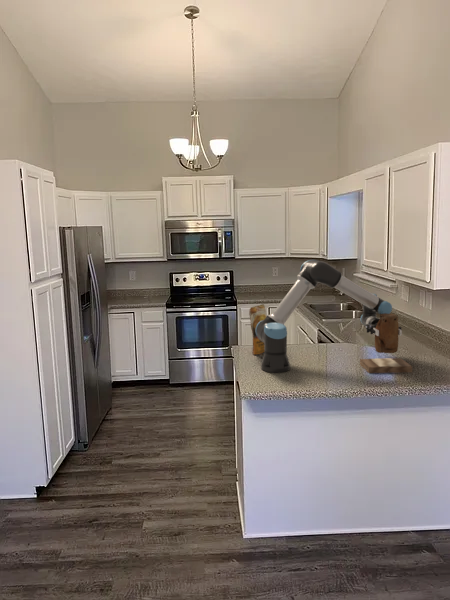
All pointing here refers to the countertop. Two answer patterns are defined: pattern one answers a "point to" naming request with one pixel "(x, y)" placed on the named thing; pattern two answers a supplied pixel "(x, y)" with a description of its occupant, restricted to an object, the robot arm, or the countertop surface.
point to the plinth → (385, 365)
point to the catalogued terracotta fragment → (387, 334)
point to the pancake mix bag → (255, 317)
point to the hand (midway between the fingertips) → (389, 333)
